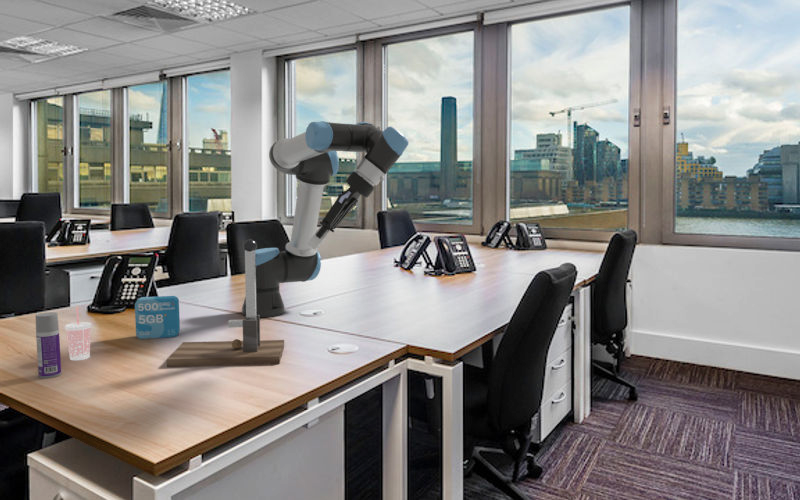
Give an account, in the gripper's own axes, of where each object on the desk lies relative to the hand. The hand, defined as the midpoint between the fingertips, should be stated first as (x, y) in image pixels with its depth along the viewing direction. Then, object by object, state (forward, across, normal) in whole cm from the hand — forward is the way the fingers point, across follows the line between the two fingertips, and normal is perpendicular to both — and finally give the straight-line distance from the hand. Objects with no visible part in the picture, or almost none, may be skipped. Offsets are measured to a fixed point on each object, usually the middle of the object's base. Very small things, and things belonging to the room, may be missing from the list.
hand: (311, 246), depth 154 cm
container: (+61, -24, +25) cm, 70 cm away
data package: (+54, +13, +23) cm, 60 cm away
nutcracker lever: (+28, -3, 0) cm, 29 cm away
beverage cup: (+61, -11, +28) cm, 68 cm away
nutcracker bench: (+37, -3, -2) cm, 37 cm away
